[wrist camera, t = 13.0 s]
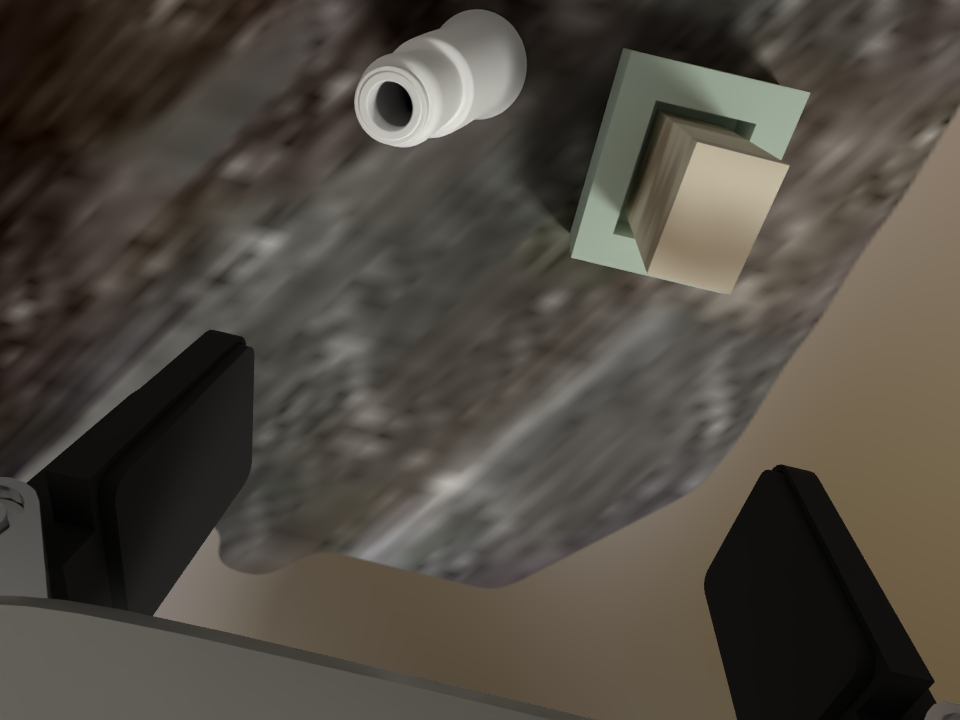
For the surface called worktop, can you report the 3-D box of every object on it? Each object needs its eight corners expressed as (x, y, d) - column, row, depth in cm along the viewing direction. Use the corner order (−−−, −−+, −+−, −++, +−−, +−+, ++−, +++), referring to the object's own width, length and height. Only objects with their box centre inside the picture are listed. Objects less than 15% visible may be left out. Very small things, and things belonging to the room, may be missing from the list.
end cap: (622, 47, 36) (631, 50, 32) (780, 85, 36) (810, 92, 32) (569, 233, 42) (570, 257, 37) (705, 265, 42) (723, 293, 37)
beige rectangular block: (657, 108, 36) (697, 142, 26) (723, 125, 36) (789, 165, 26) (623, 207, 39) (647, 273, 29) (684, 222, 39) (730, 294, 29)
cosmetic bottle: (499, 136, 39) (439, 240, 20) (413, 90, 39) (267, 152, 19) (545, 41, 36) (527, 55, 17) (453, -11, 36) (329, -56, 16)
